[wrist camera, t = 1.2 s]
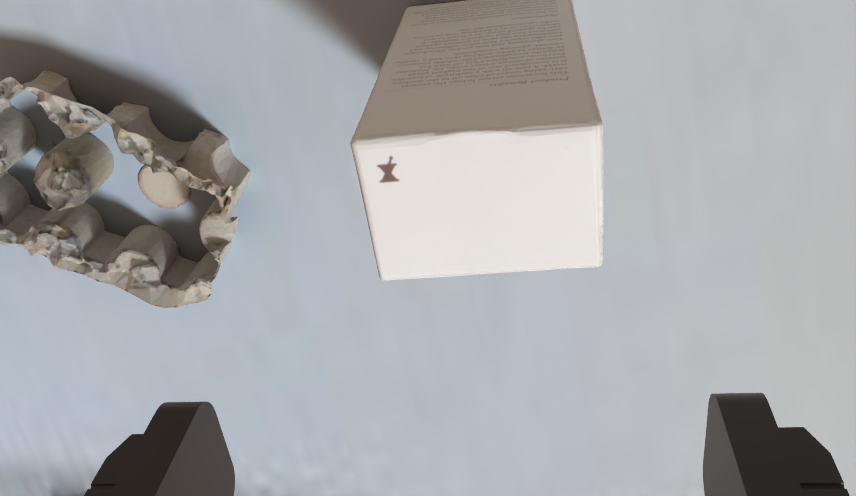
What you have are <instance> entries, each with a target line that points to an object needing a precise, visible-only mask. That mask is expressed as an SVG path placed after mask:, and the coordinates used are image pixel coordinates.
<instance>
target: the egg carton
mask: <svg viewBox="0 0 856 496" xmlns="http://www.w3.org/2000/svg"><path fill="white" fill-rule="evenodd" d="M23 90H26V91H30V92H32V93H34V94H36V95H37V96H38V98H37V103H38V104H40V105H41V106H42V107H43V108H44V110H45V112H46V115H47V118H48V119H49V120H50V121H52V122H53V123H55V124H56V125H58V126H59V127H60V129H61V130H62V132H63V134H64V136H65V137H66V138H65V139H63V140H62V141H61V142H60V143H58V144H57V145H55V144H54V145H55V147H53V148H52V149H51V150H50V151H48V152H47V153H46V154H45V155H44V156H42V158H41V159H40V161H39V163H38V165H37V167H36V170H35V174H34V177H33V180H34V184H35V185H36V187H37V188H38V189H39V191H40V194H41V196H42V198H43V199H44V200H45V202H46V203H47V205H48V206H50V207H52V209H51V210H50V211H48V210H44V209H42V208H39V207H36V206H33V205H32V204H31V203H30V198H29V194H28V192H27V190H26V188H25V187H24V186H23V185H22V184H21V183H20V182H19V181H18V180H17V179H16V178H15V177H13V176H12V175H10V174H9V173H8V169H9V168H10V167H12V166H13V165H14V164H15V163H17V162H18V161H19V160H20V159H21V158H23V157H24V156H25V155H26V154H27V153H29V152H30V151H31V150H32V149H33V147H34V145H35V143H36V139H37V136H36V131H35V128H34V126H33V124H32V122H31V121H30V120H29V118H28V117H27V116H26V115H25V114H24V113H22V112H21V111H20V110H18V109H16V108H15V107H13V106H12V105H11V99H12V98H13V97H14V96H16V95H17V94H19V93H20V92H22V91H23ZM105 121H106V122H108V123H109V124H110V125H111V127H112V129H113V133H114V137H115V140H116V142H117V145H118V147H119V149H120V150H121V152H122V153H124V154H133V155H134V156H135V157H136V159H137V160H138V161H139V162H140V163H142V164H145V166H144V167H143V168H142V169H141V171H140V173H139V186H140V189H141V191H142V192H143V194H144V195H145V197H146V198H147V199H148V200H150V201H151V202H153V203H154V204H156V205H158V206H159V207H161V208H167V209H168V208H177V207H179V206H181V205H183V204H184V203H185V202H186V201H187V200H188V199H189V196H190V191H191V188H195V189H199V190H206V191H207V192H209V193H210V194H212V195H215V196H216V197H217V198H216V199H215V200H214V202H213V203H212V204H211V206H210V207H209V209H208V210H207V212H206V213H205V215H204V216H203V218H202V219H201V221H200V226H199V231H200V236H201V239H202V243H203V244H204V245H205V247H206V248H207V249H208V251H209V252H208V253H206V254H205V255H204V256H203V257H202V259H201V260H200V262H194V261H191V260H188V259H185V258H183V257H181V256H179V255H178V246H177V244H176V242H175V240H174V238H173V237H172V236H171V235H170V234H169V233H168V232H166V231H165V230H163V229H162V228H160V227H158V226H154V225H140V226H137V227H136V228H134V229H133V230H132V231H131V232H130V233H129V234H128V235H127V237H122V236H119V235H116V234H114V233H111V232H108V231H106V230H105V228H104V222H103V219H102V217H101V215H100V214H99V212H98V211H97V210H96V209H95V208H94V207H93V206H92V205H90V204H89V203H87V202H85V201H86V200H87V199H88V198H89V197H90V196H91V195H92V194H93V193H94V192H95V191H96V190H97V189H98V188H99V187H100V186H101V185H102V184H103V183H104V182H105V181H106V180H107V179H108V178H109V177H110V175H111V174H112V172H113V169H114V160H113V155H112V153H111V151H110V150H109V148H108V147H107V146H106V145H105V144H104V143H103V142H102V141H101V140H100V139H98V138H97V137H95V136H93V135H90V134H88V133H87V132H90V131H93V130H95V129H97V128H98V127H100V126H101V125H102V124H103V123H104V122H105ZM53 143H54V142H53ZM249 176H250V170H249V169H248V168H247V167H245V166H244V165H243V164H241V163H240V162H239V161H238V160H237V159H236V158H235V157H234V155H233V153H232V151H231V149H230V144H229V139H228V138H226V137H225V136H224V135H222V134H220V133H217V132H214V131H211V130H207V129H204V130H203V132H199V135H198V137H197V138H196V139H194V140H193V141H189V142H178V141H173V140H171V139H169V138H167V137H165V136H164V135H163V134H162V133H161V132H160V131H159V130H158V129H157V128H156V127H155V125H154V124H153V122H152V119H151V116H150V109H149V107H146V106H142V105H136V104H130V103H127V102H123V103H122V104H121V105H119V106H115V107H114V108H113V110H112V111H111V112H110V113H108V114H103V113H101V112H99V111H98V110H96V109H95V108H93V107H90V106H87V105H83V104H80V103H79V102H78V101H77V99H76V98H75V97H74V95H73V93H72V91H71V89H70V85H69V80H68V78H66V77H64V76H62V75H60V74H57V73H55V72H51V71H45V70H43V71H42V72H41V73H40V74H39V75H38V76H37V77H36V78H35V79H34V80H32V81H31V82H26V83H23V84H22V85H21V84H20V83H19V82H18V81H17V80H16V79H15V78H12V77H6V78H5V79H3V80H2V81H0V243H1V244H4V245H15V246H20V247H22V248H25V249H27V250H28V252H29V253H30V255H32V256H40V255H44V256H46V257H47V258H49V259H50V261H51V263H52V265H53V266H54V268H57V269H63V270H68V271H74V272H77V273H80V274H83V275H86V276H88V277H90V278H92V279H94V280H97V281H99V282H103V283H108V284H112V285H115V286H117V287H119V288H121V289H124V290H126V291H127V292H129V293H131V294H133V295H135V296H136V297H138V298H140V299H142V300H144V301H145V302H147V303H149V304H152V305H155V306H159V307H163V308H170V307H179V306H183V305H188V304H192V303H197V302H201V301H204V300H207V299H208V297H209V296H210V295H211V292H212V285H211V282H212V281H213V280H214V278H215V277H216V275H217V273H218V270H219V267H220V266H221V264H222V263H223V261H224V259H225V257H226V255H227V254H228V252H229V250H230V246H231V243H232V240H233V238H234V233H235V230H236V227H237V224H238V222H239V217H231V215H232V211H233V207H234V205H235V204H236V202H237V201H238V200H239V198H240V197H241V195H242V193H243V191H244V189H245V188H246V186H247V182H248V179H249Z"/></svg>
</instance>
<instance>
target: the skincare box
mask: <svg viewBox="0 0 856 496" xmlns="http://www.w3.org/2000/svg"><path fill="white" fill-rule="evenodd" d="M350 144H351V148H352V153H353V157H354V161H355V166H356V170H357V175H358V179H359V184H360V188H361V193H362V197H363V202H364V207H365V211H366V216H367V221H368V225H369V230H370V235H371V239H372V244H373V249H374V254H375V258H376V263H377V268H378V272H379V276H380V279H382V280H385V281H386V280H397V279H414V278H430V277H446V276H461V275H475V274H489V273H503V272H518V271H536V270H551V269H566V268H585V267H600V266H601V265H602V261H603V124H602V120H601V116H600V113H599V110H598V106H597V102H596V99H595V96H594V92H593V88H592V83H591V79H590V76H589V72H588V67H587V63H586V59H585V55H584V50H583V46H582V42H581V37H580V33H579V29H578V25H577V20H576V16H575V12H574V8H573V4H572V0H467V1H458V2H449V3H440V4H430V5H421V6H410V7H407V8H406V10H405V12H404V14H403V17H402V19H401V22H400V24H399V27H398V29H397V31H396V34H395V36H394V39H393V41H392V44H391V46H390V48H389V51H388V53H387V56H386V58H385V60H384V63H383V65H382V67H381V70H380V73H379V75H378V78H377V80H376V82H375V85H374V88H373V90H372V92H371V95H370V97H369V100H368V102H367V105H366V107H365V109H364V112H363V115H362V117H361V119H360V121H359V124H358V126H357V128H356V131H355V133H354V135H353V138H352V140H351V143H350Z"/></svg>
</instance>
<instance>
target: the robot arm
mask: <svg viewBox="0 0 856 496" xmlns="http://www.w3.org/2000/svg"><path fill="white" fill-rule="evenodd" d="M703 482H704V492H705V496H849V493H848V491H847V489H844V482H843V480H842V478H841V476H840V473H839V471H838V469H837V467H836V465H835V462H834V460H833V458H832V456H831V453H830V452H829V451H828V450H827V449H826V448H825V447H824V446H822V445H821V444H820V443H819V442H818V441H817V440H816V439H815V438H814V437H813V436H812V435H811V434H810V433H809V432H808V431H807V430H806V429H805V428H804V427H786V428H778V426H777V424H776V421H775V419H774V416H773V413H772V411H771V408H770V406H769V403H768V401H767V399H766V397H765V395H764V394H763V393H727V394H711V396H710V399H709V406H708V416H707V427H706V438H705V449H704V460H703ZM234 488H235V474H234V467H233V464H232V461H231V458H230V455H229V452H228V448H227V445H226V442H225V439H224V436H223V433H222V430H221V427H220V424H219V421H218V418H217V415H216V412H215V410H214V407H213V406H212V405H211V403H209V402H168V403H163V404H162V405H161V406H160V407H159V408H158V409H157V411H156V413H155V414H154V416H153V418H152V420H151V422H150V423H149V425H148V427H147V429H146V431H145V432H144V434H132V435H131V436H129V437H128V438H127V439H126V440H125V441H124V442H123V443H122V444H121V445H120V446H119V447H118V448H116V449H115V450H114V451H113V452H112V453H111V454H110V455H109V456H108V457H107V458H106V459H105V461H104V463H103V464H102V466H101V468H100V470H99V471H98V473H97V475H96V476H95V478H94V480H93V481H92V483H91V489H88V490H87V492H86V493H85V495H84V496H233V495H234Z"/></svg>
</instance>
